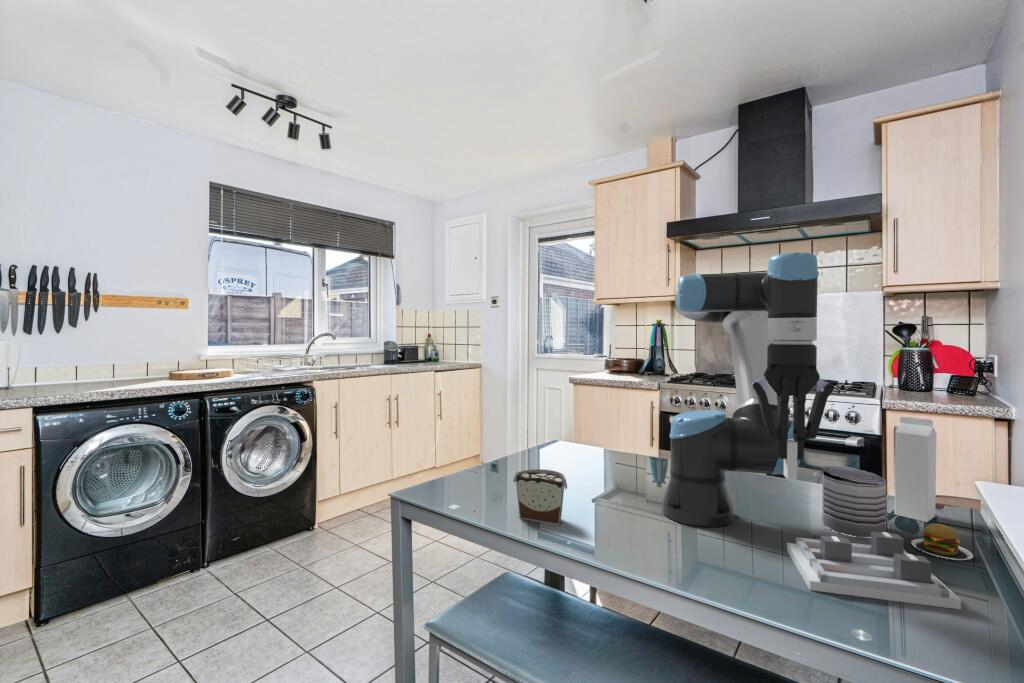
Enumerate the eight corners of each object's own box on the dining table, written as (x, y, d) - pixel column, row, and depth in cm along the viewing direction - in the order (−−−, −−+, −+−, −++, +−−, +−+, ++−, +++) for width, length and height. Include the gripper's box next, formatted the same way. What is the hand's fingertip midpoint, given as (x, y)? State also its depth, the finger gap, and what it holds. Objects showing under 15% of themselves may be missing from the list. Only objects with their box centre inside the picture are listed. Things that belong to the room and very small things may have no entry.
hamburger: (958, 574, 87) (959, 542, 86) (886, 546, 98) (886, 518, 98) (1000, 563, 91) (1001, 533, 91) (926, 537, 102) (926, 510, 102)
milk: (927, 522, 108) (929, 421, 108) (893, 514, 113) (895, 417, 112) (935, 516, 112) (937, 418, 111) (902, 508, 117) (904, 414, 116)
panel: (809, 590, 80) (810, 573, 80) (786, 550, 95) (787, 536, 94) (960, 609, 74) (961, 591, 74) (912, 564, 89) (912, 549, 89)
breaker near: (900, 585, 78) (900, 558, 78) (893, 577, 80) (893, 552, 80) (930, 588, 77) (931, 561, 77) (922, 581, 79) (923, 555, 79)
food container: (574, 516, 112) (574, 472, 112) (565, 526, 107) (565, 479, 106) (524, 508, 117) (524, 466, 117) (513, 517, 112) (513, 472, 111)
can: (828, 514, 113) (829, 461, 113) (890, 528, 105) (891, 471, 105) (814, 528, 105) (815, 471, 105) (880, 544, 97) (881, 483, 97)
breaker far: (876, 559, 87) (876, 535, 87) (870, 553, 89) (870, 530, 89) (903, 562, 86) (903, 538, 86) (897, 556, 88) (897, 533, 88)
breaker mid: (824, 564, 85) (824, 540, 85) (820, 558, 87) (820, 534, 87) (851, 567, 84) (851, 542, 84) (846, 561, 86) (846, 537, 86)
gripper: (754, 343, 85) (753, 480, 86) (842, 343, 81) (840, 487, 82) (746, 342, 92) (745, 469, 93) (826, 342, 89) (825, 474, 89)
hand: (790, 477), depth 87 cm, fingers closed
